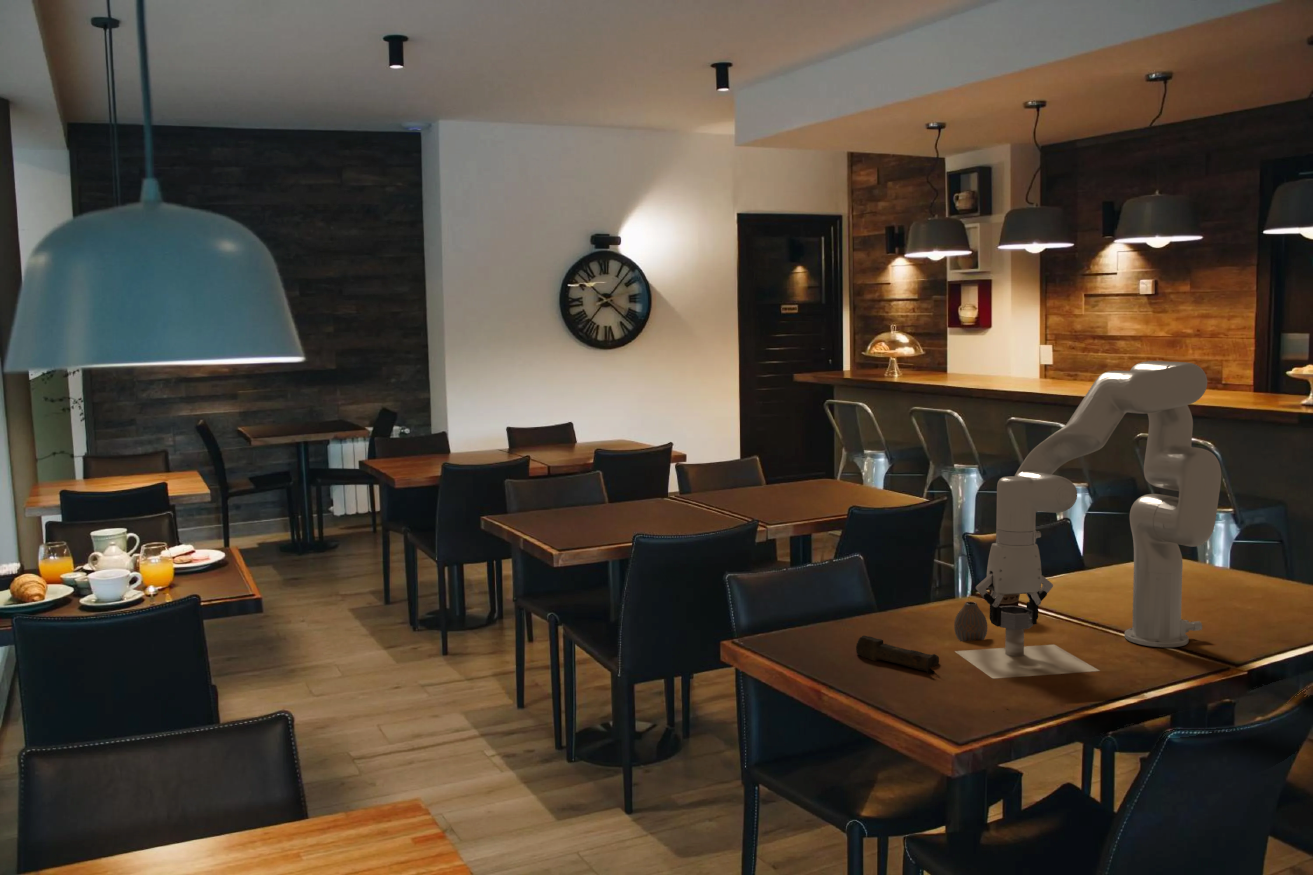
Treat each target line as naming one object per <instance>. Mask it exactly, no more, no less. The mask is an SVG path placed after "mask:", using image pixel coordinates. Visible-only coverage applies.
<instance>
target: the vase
mask: <svg viewBox="0 0 1313 875" xmlns="http://www.w3.org/2000/svg"><path fill="white" fill-rule="evenodd" d="M953 629H954V633H955V635H956V638H957V639H958V641H959V642H971V641H983V640H984V641H985V639H986V636H987V634H988V622H987V618H986V615H985V614H984V613H983V611H982V610H981V609H980V608H979V606H978V603H977V602H975V601H966V602H965V603H964V605H963V606H962V608H961V609H960V610H959V611H958V612H957V614H956V616H955V619H954V628H953Z"/></svg>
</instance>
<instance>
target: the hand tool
mask: <svg viewBox="0 0 1313 875" xmlns="http://www.w3.org/2000/svg"><path fill="white" fill-rule="evenodd" d="M855 650H856V654H857V655H858V656H861V657H862V658H863V659H864V658H865V659H868V660H871V661H873V662H878V661H885V662H888V663H892V664H897V665H901V666H903V667H908V668H912V669H915V670H919V671H924V672H926V673H927V675H929V676H930V675H932V674H935V673H936V671H934V670H933V669H932V668H934V667H937V666H938V665H939V662H940V658H939V655H937V654H936V653H932V654H930V653H929V654H928V653H924V652H921V651H918V650H914V649H911V650H910V649H906V648H903V647H898V646H894V645H891V644H888V643H884V639H881V638H876V637H873V636H868V635H862V636H860V637H859V638H858V640H857V643H856V646H855Z"/></svg>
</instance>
